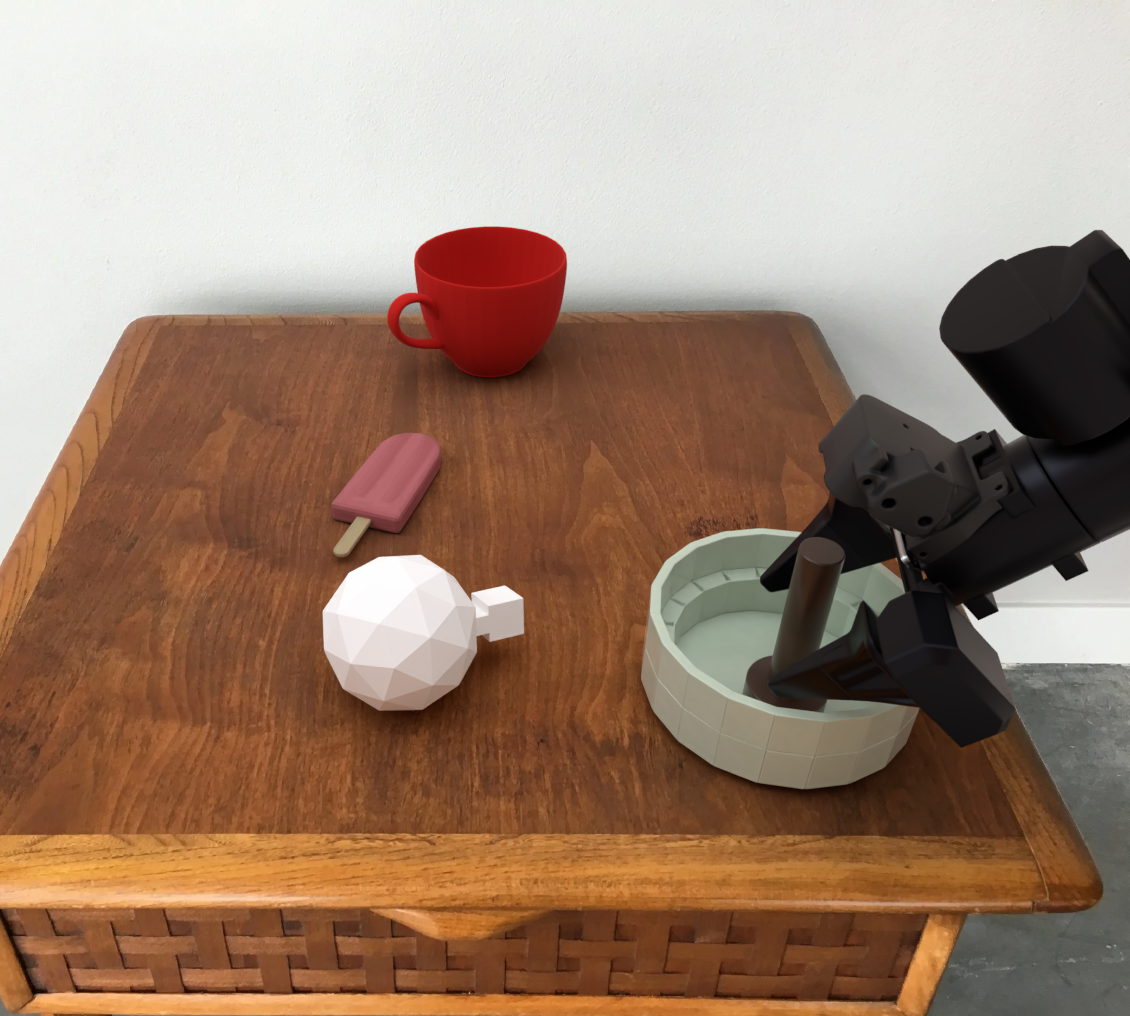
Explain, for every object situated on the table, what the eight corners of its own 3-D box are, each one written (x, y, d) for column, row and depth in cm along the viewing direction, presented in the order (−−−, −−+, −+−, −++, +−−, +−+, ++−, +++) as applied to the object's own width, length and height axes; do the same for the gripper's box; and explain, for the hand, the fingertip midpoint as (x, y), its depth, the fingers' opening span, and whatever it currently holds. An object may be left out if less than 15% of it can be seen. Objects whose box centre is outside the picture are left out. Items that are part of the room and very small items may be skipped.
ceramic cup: (354, 367, 91) (344, 262, 85) (501, 314, 99) (502, 214, 93) (438, 429, 83) (434, 317, 77) (592, 365, 90) (599, 259, 84)
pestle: (789, 676, 60) (831, 515, 52) (836, 730, 56) (888, 566, 49) (724, 696, 58) (758, 534, 51) (768, 753, 55) (812, 589, 48)
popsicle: (302, 538, 69) (389, 425, 80) (304, 555, 70) (390, 442, 81) (373, 555, 68) (452, 438, 79) (374, 572, 69) (453, 454, 80)
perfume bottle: (356, 758, 54) (552, 704, 58) (344, 599, 51) (550, 556, 56) (306, 690, 61) (483, 647, 66) (293, 548, 58) (479, 513, 63)
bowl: (888, 615, 64) (912, 542, 61) (930, 815, 52) (964, 739, 49) (645, 588, 67) (654, 516, 63) (634, 773, 55) (644, 698, 51)
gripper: (925, 273, 50) (674, 440, 59) (1018, 495, 36) (666, 674, 44) (1043, 421, 54) (790, 558, 62) (1172, 678, 39) (818, 811, 48)
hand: (767, 634), depth 54 cm, fingers open, 8 cm apart
